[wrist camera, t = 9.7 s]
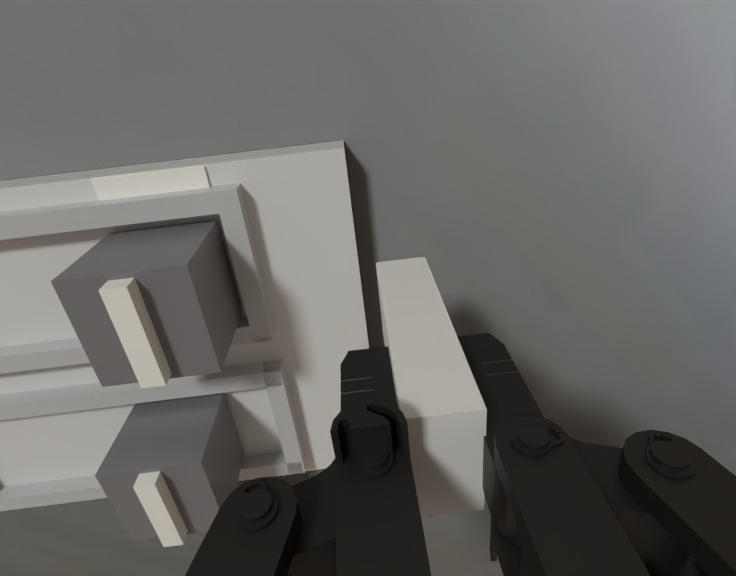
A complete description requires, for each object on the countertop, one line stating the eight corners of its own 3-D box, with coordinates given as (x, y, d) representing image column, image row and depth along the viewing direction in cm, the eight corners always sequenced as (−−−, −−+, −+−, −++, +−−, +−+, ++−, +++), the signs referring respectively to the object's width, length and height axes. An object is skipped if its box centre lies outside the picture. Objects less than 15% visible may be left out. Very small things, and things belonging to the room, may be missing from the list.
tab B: (146, 323, 19) (93, 399, 15) (110, 232, 17) (38, 291, 13) (242, 311, 19) (217, 384, 15) (217, 219, 17) (180, 273, 13)
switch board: (-56, 494, 25) (-91, 533, 23) (-284, 214, 17) (-367, 237, 15) (380, 439, 25) (384, 473, 23) (343, 140, 17) (344, 152, 15)
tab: (163, 463, 22) (125, 555, 18) (135, 402, 21) (87, 489, 17) (244, 453, 22) (224, 542, 18) (223, 391, 21) (196, 475, 17)
